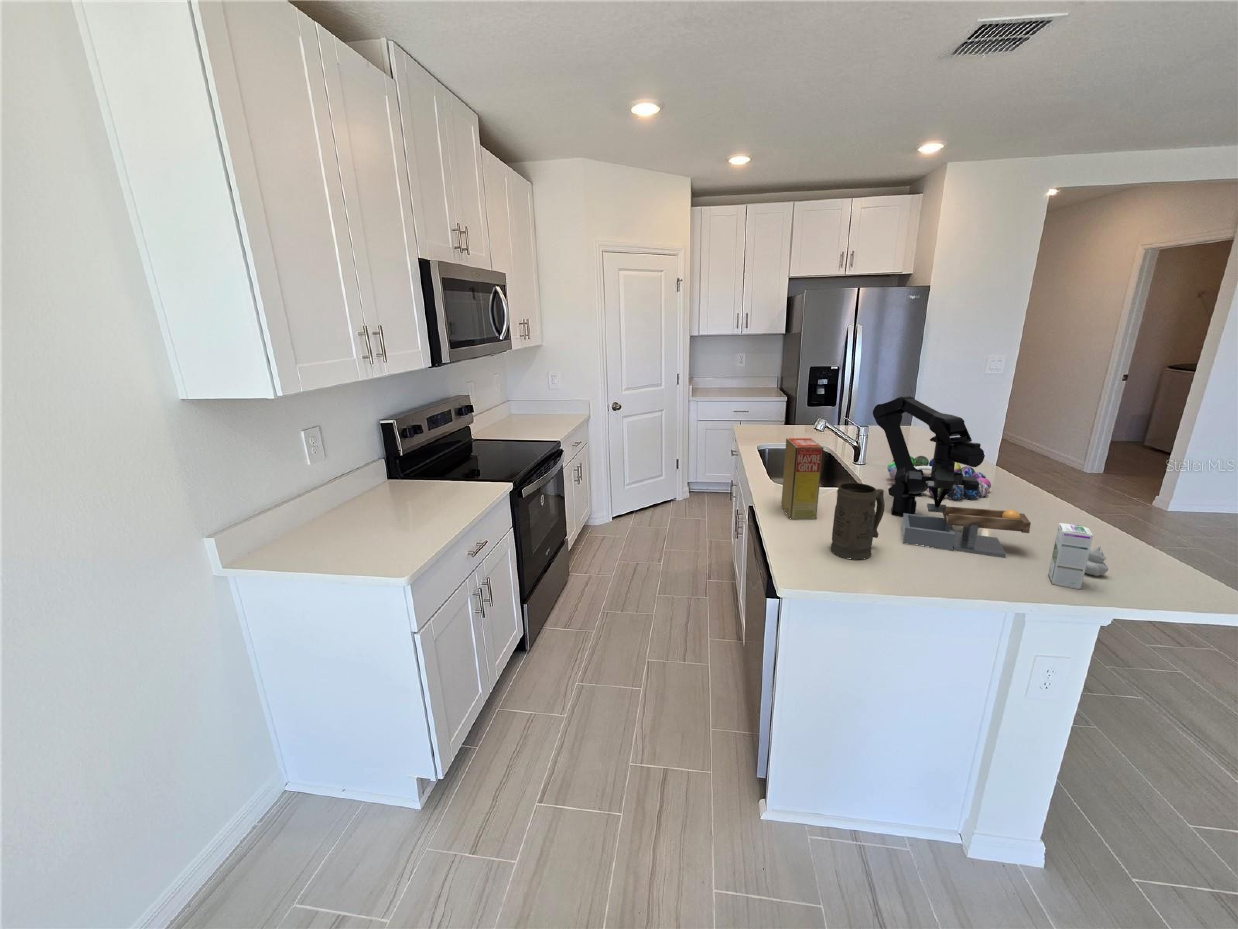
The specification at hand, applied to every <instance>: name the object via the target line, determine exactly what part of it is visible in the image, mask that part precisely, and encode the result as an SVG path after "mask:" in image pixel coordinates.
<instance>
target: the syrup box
mask: <svg viewBox="0 0 1238 929" xmlns="http://www.w3.org/2000/svg"><path fill="white" fill-rule="evenodd" d="M1055 536H1056V537H1055V540H1054V545H1053V550H1052V555H1051V559H1050V564H1049V569H1048V574H1047V575H1048V578H1049V580H1050V583H1051V584H1052V585H1056V586H1060V587H1065V588H1069V589H1070V588H1071V589H1076V590H1081V589H1082V585H1083V582H1084V578H1085V574H1086V573H1085V569H1086V565H1087V560H1088V556H1089V551H1090V550H1091V545H1092V541H1093V537H1094V535H1093V533H1092V531H1091V530H1090V528H1089V527H1088V526H1086V525H1079V524H1074V523H1073V524H1072V523H1062V522H1058V527H1057V532H1056V535H1055Z"/></svg>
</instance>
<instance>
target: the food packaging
mask: <svg viewBox="0 0 1238 929" xmlns="http://www.w3.org/2000/svg"><path fill="white" fill-rule="evenodd" d="M823 457H824V446H822V445H821V444H819V443H817V442H816V441H815V440H814V439H812V438H811V437H810V438H809V437H805V438H804V437H802V438H801V437H798V438H796V437H790V438H788V437H787V438H785V450H784V466H783V475H782V476H783V477H782V491H781V504H780V506H782V507H783V508H782V507H781V508H782V510H783V509H784V510H785V511H784V510H783V511H784V513H785V512H786V513H787V515H788V516H787V515H786V516H787V517H788V518H789V517H790V518H791V519H790V518H789V519H790V520H817V519H818V518H817V515H818V503H819V494H820V484H821V474H822V466H823ZM786 513H785V514H786Z"/></svg>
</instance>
